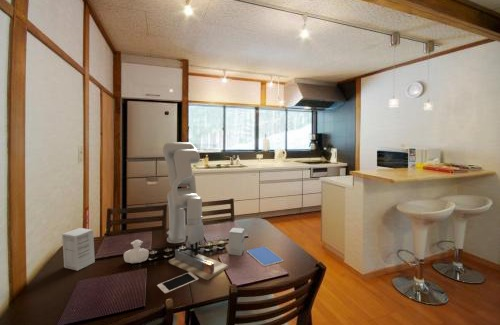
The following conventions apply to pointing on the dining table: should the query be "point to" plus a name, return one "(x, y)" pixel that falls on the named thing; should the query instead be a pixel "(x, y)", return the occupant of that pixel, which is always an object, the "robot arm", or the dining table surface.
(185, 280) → the cell phone
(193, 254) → the lock slider
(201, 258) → the tongs hinged arm
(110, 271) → the dining table surface
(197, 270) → the rest board
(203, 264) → the tongs fixed arm
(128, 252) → the white rounded piece
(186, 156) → the robot arm
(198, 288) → the dining table surface
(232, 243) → the supplement box
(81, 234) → the supplement box
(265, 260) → the tablet computer
